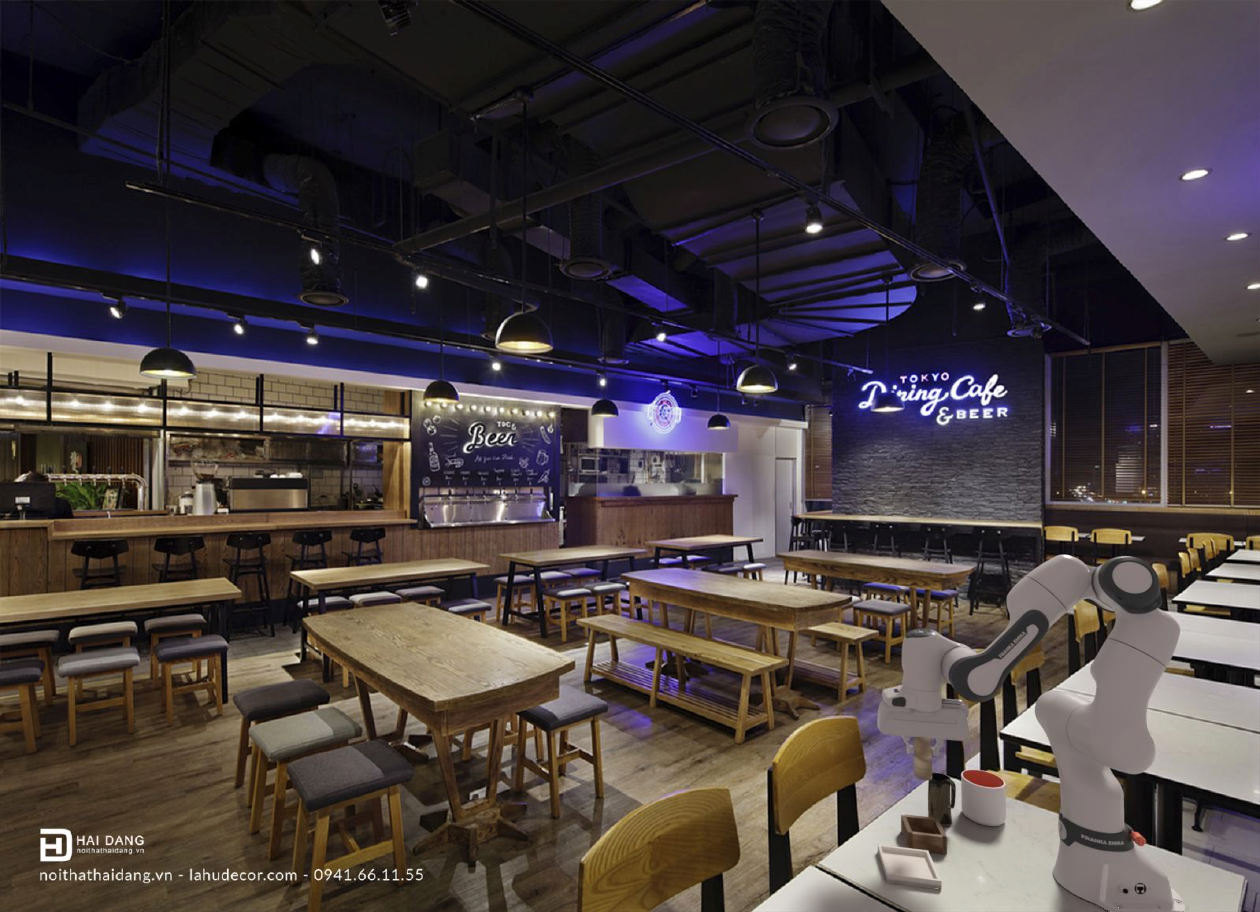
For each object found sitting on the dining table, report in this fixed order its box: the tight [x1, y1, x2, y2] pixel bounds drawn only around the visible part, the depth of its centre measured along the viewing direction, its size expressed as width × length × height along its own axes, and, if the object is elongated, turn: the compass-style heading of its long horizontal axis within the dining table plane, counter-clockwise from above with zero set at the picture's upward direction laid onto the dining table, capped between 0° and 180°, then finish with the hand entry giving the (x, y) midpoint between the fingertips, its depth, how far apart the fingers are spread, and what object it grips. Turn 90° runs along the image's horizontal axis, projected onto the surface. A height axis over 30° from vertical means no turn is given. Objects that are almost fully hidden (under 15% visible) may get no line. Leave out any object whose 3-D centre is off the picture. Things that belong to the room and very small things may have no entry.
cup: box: [960, 769, 1007, 827], centre depth 161 cm, size 10×10×10 cm
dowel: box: [912, 737, 933, 781], centre depth 150 cm, size 4×4×10 cm
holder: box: [900, 814, 948, 856], centre depth 150 cm, size 8×8×4 cm
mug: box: [927, 772, 957, 828], centre depth 158 cm, size 8×6×12 cm
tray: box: [877, 844, 942, 890], centre depth 140 cm, size 11×11×2 cm
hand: (922, 754), depth 150 cm, fingers closed on dowel, 4 cm apart
